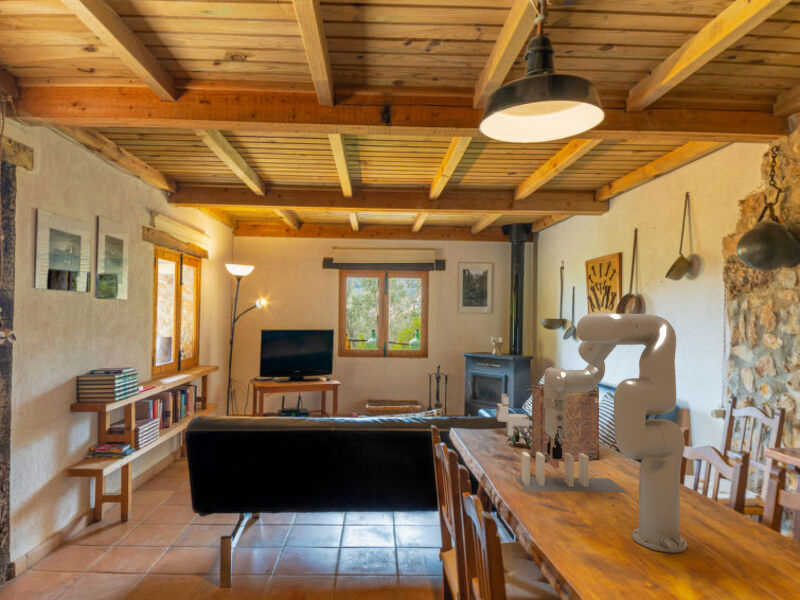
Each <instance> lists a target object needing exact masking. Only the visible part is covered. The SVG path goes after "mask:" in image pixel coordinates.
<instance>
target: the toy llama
mask: <svg viewBox="0 0 800 600" xmlns="http://www.w3.org/2000/svg"><path fill="white" fill-rule="evenodd" d="M509 398H510V397H509V395H508V393H505V392H504V393H503V392H502V393H501V402H496V405H495V406H496V409H495V410H496V411H495V416H496V417H495V418H496V421H497V422H499V423H500V422H502V423H503V422H504V423H506V424H505V425H506V427H505V430H506V431H505V433H506V432H507V434H508V436H514V429H515V425H517V427H521V429H522V430H524V431H525V432H527V431H528V430H527V428H529V429H530V428H532V420H530V416H529V415H528V414H525V413H509V403H510V402H509V401H510V399H509ZM527 435H528V436H529V437H530V433H529V432H528V433H527ZM508 436H507V437H508Z"/></svg>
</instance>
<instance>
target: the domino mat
mask: <svg viewBox="0 0 800 600" xmlns="http://www.w3.org/2000/svg"><path fill="white" fill-rule="evenodd" d="M515 478H516V480H517V482H518V483H519V485H521V487H522V488H523V490H524V491H533V492H534V491H537V492H538V491H541V492H543V491H544V492H586V493H587V492H588V493H592V492H593V493H627V490H625V488H622V487H621V486H620V485H619V484H618V483H617V482H615V481H613V480H612V479H611V478H609V477H607V478H604V477H603V478H601V477H599V478H598V477H589V487H583V486H582V485H581V484H580V483H579V482H578V481H579V477H574V487H569V486H568V485H567V484H566V483H565V482H564V477H558V476H557V477H555V476H550V477H549V476H545V486H539V484H538V483H537V482H536V476H530V486H525V485H524V483H523V482H522V481H521V480H522V476H515Z"/></svg>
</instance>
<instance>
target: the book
mask: <svg viewBox="0 0 800 600" xmlns="http://www.w3.org/2000/svg"><path fill="white" fill-rule="evenodd" d="M531 386H532V387H531V390H532V391H531V421H532V427H531V432H532V434H531V440H532V441H531V457H533V456H534V457H533V458H535V459H536V452H541V453H542V454H543V455H544V456H545V463H549V462H548V461H550V454H547V443H549V442H547V437H548V436H547V433H546V431H545V415H546V408H544V383H540V384H539V383H536V384H535V383H534V384H532V385H531ZM565 411H566V421H567V438H566V439H564V438H563V444H562V459H559V461H564V455H565V453H570V454H571V455H572V456H574V462H579V453H584V454H585V455H586V456H588V457H589V462H591V461H593V460H594V461H595V460H596V461H599V460H600V388H599V387H598V386H596V387H595V388H594V389H593V390H591V391H589V392H578V393H567V409H566V410H565ZM557 437H558V436H557ZM596 461H595V462H596Z"/></svg>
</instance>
